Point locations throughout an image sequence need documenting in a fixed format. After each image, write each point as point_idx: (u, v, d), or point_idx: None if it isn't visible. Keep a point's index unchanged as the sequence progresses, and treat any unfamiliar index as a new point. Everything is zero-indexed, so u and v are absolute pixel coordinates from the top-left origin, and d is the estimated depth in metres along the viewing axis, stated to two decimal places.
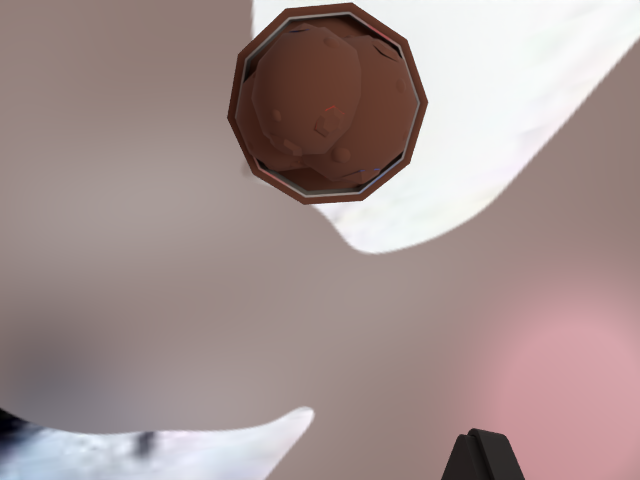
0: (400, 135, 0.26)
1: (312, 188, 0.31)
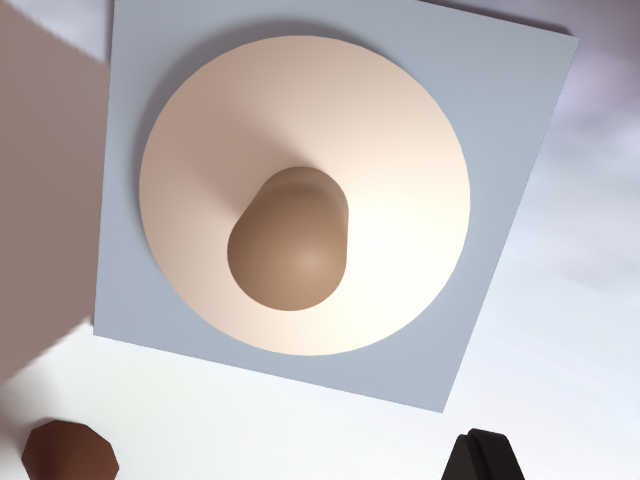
0: None
1: None
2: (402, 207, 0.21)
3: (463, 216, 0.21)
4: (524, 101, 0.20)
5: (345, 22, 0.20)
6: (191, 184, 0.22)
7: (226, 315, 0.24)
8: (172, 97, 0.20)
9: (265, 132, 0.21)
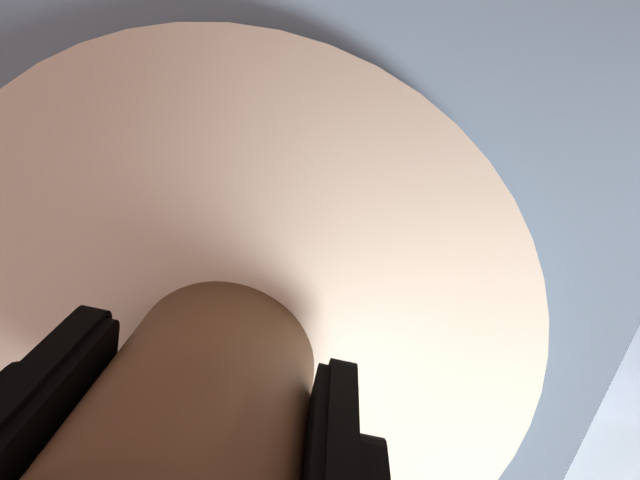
0: None
1: None
2: (417, 355, 0.11)
3: (534, 372, 0.11)
4: None
5: None
6: (10, 313, 0.11)
7: None
8: None
9: (143, 218, 0.10)
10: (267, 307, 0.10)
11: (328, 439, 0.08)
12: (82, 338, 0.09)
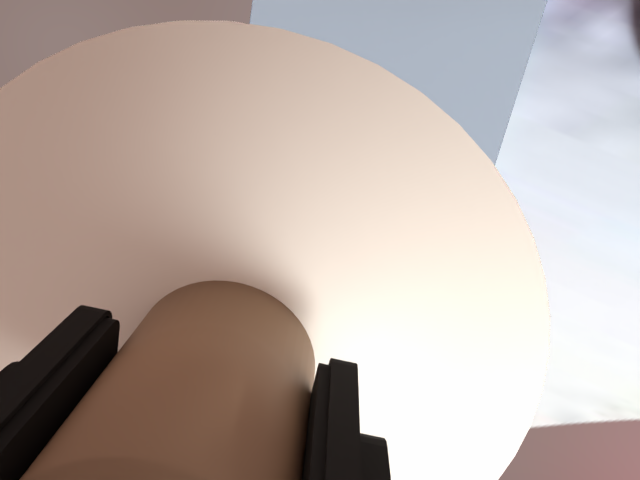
0: None
1: None
2: (417, 354, 0.11)
3: (535, 371, 0.11)
4: (525, 3, 0.32)
5: None
6: (11, 312, 0.11)
7: None
8: None
9: (144, 217, 0.10)
10: (268, 306, 0.10)
11: (328, 439, 0.08)
12: (82, 338, 0.09)
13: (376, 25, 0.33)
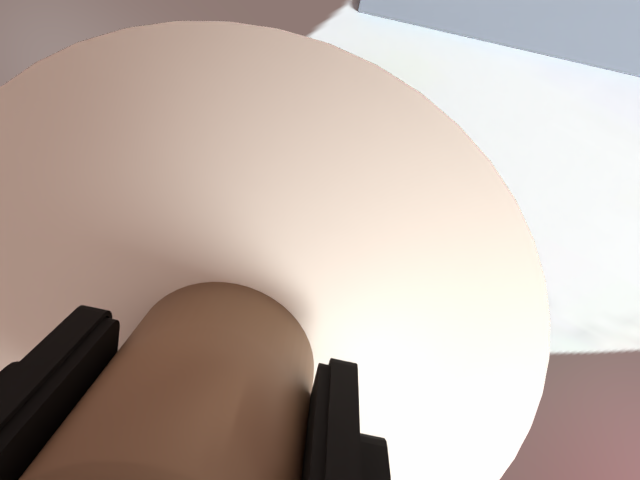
0: None
1: None
2: (417, 356, 0.11)
3: (535, 373, 0.11)
4: None
5: None
6: (9, 313, 0.11)
7: None
8: None
9: (142, 218, 0.10)
10: (267, 308, 0.10)
11: (328, 439, 0.08)
12: (82, 338, 0.09)
13: None
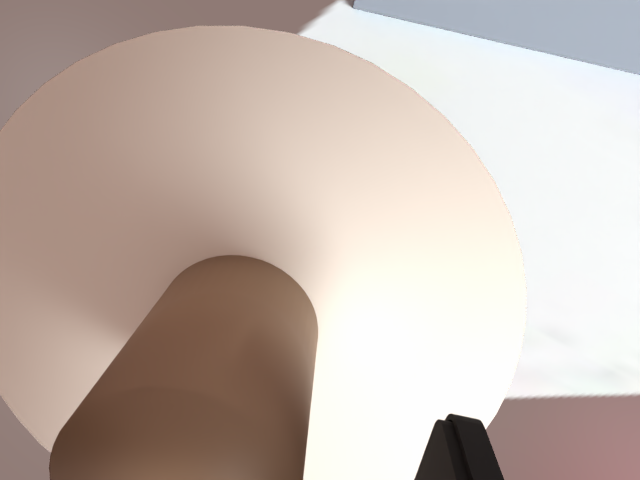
0: None
1: None
2: (409, 321, 0.12)
3: (514, 336, 0.12)
4: None
5: None
6: (48, 284, 0.13)
7: None
8: None
9: (167, 198, 0.12)
10: (277, 277, 0.12)
11: None
12: None
13: None
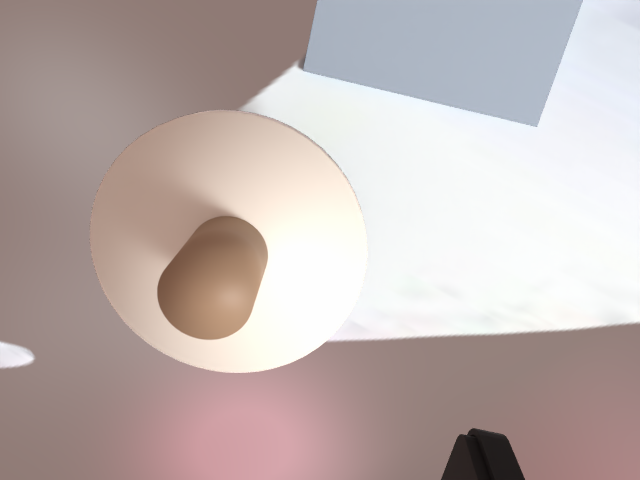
0: None
1: None
2: (312, 249, 0.26)
3: (362, 256, 0.26)
4: None
5: None
6: (134, 231, 0.26)
7: (167, 339, 0.28)
8: (116, 160, 0.24)
9: (195, 188, 0.25)
10: (247, 225, 0.25)
11: None
12: None
13: None
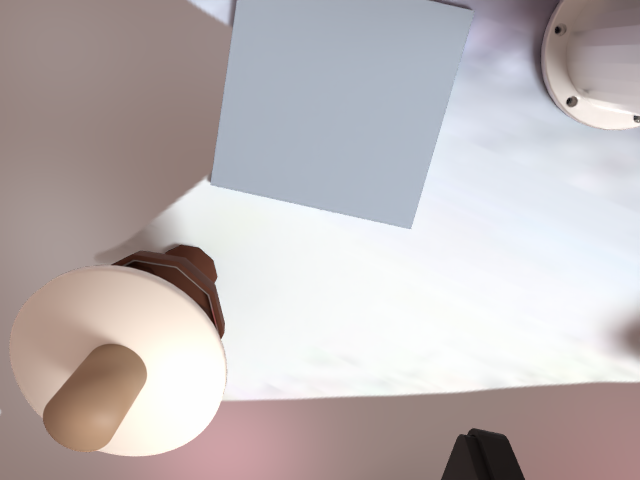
0: None
1: None
2: (180, 367, 0.33)
3: (219, 373, 0.33)
4: (448, 44, 0.40)
5: (356, 3, 0.39)
6: (43, 353, 0.33)
7: None
8: (25, 303, 0.32)
9: (86, 324, 0.32)
10: (126, 353, 0.32)
11: None
12: None
13: (331, 58, 0.41)
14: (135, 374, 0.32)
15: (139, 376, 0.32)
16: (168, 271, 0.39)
